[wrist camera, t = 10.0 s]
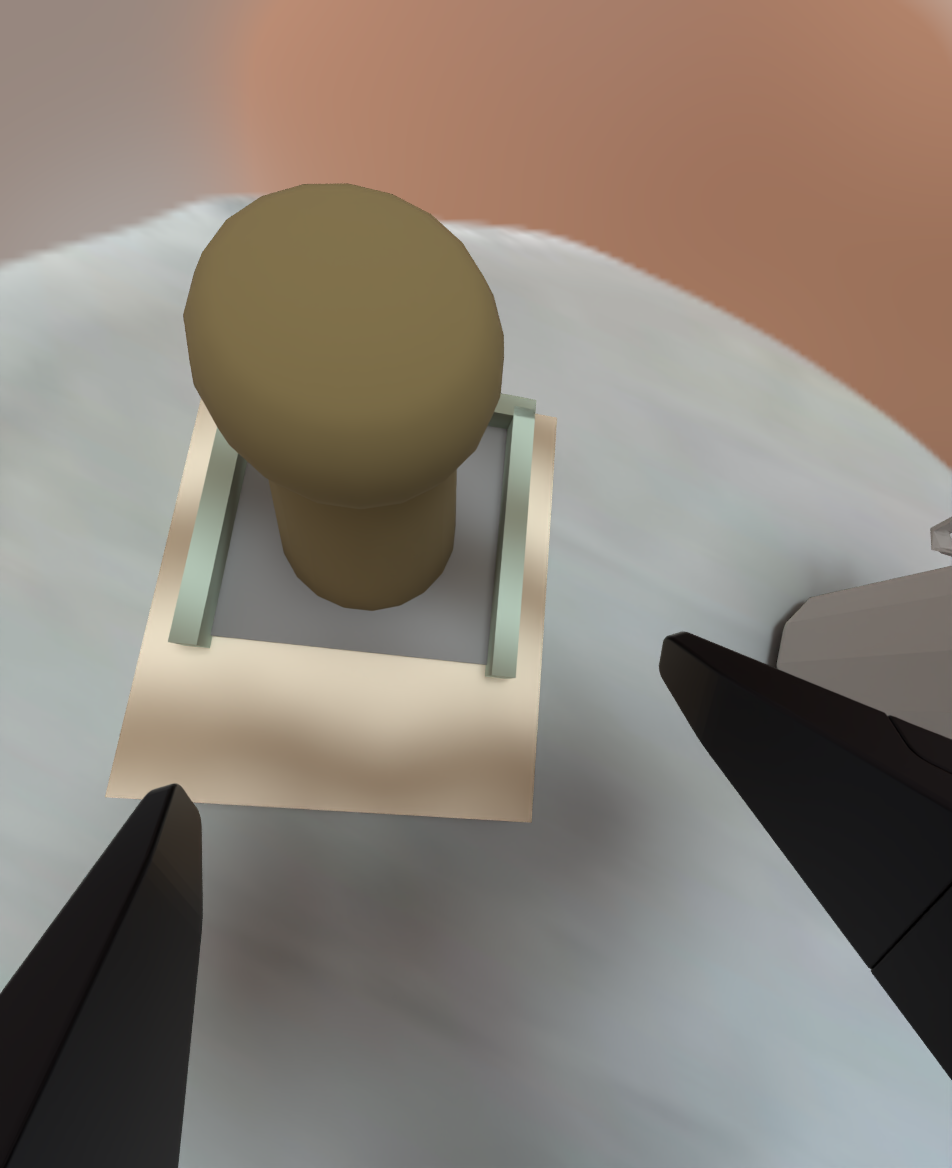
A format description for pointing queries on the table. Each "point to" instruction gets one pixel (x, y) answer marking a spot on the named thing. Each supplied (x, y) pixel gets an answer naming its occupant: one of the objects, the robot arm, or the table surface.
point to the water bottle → (882, 643)
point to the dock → (346, 651)
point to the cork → (348, 378)
